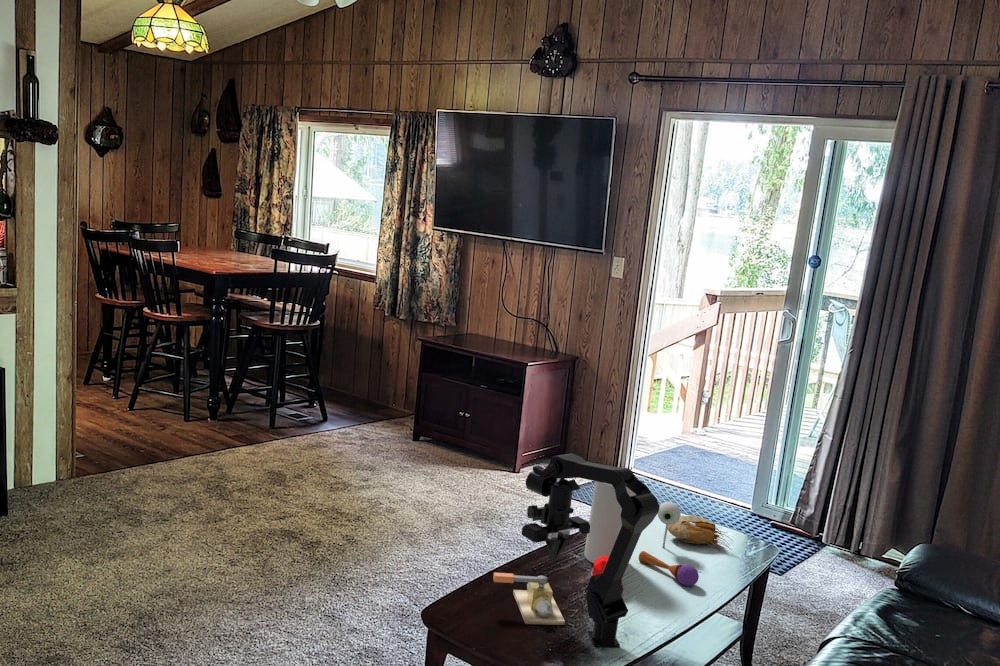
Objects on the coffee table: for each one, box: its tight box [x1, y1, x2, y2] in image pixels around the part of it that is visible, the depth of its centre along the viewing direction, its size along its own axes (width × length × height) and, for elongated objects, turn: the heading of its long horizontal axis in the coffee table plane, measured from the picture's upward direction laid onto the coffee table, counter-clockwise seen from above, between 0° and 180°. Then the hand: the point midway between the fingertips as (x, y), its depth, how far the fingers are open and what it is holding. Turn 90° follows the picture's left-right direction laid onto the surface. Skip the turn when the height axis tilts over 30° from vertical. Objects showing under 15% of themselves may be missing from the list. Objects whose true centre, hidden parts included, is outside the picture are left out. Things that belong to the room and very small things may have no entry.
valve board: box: [512, 589, 566, 626], centre depth 221 cm, size 16×10×1 cm, turn 10°
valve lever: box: [492, 572, 548, 585], centre depth 219 cm, size 14×3×2 cm, turn 98°
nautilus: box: [667, 515, 733, 553], centre depth 279 cm, size 8×22×15 cm
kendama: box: [638, 550, 700, 587], centre depth 252 cm, size 6×6×20 cm
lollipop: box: [657, 501, 682, 549], centre depth 272 cm, size 7×7×15 cm
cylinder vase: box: [583, 481, 636, 564], centre depth 256 cm, size 12×12×25 cm
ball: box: [591, 556, 609, 576], centre depth 240 cm, size 8×8×8 cm
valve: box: [526, 582, 554, 619], centre depth 221 cm, size 14×5×6 cm, turn 10°
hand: (552, 560), depth 221 cm, fingers closed
